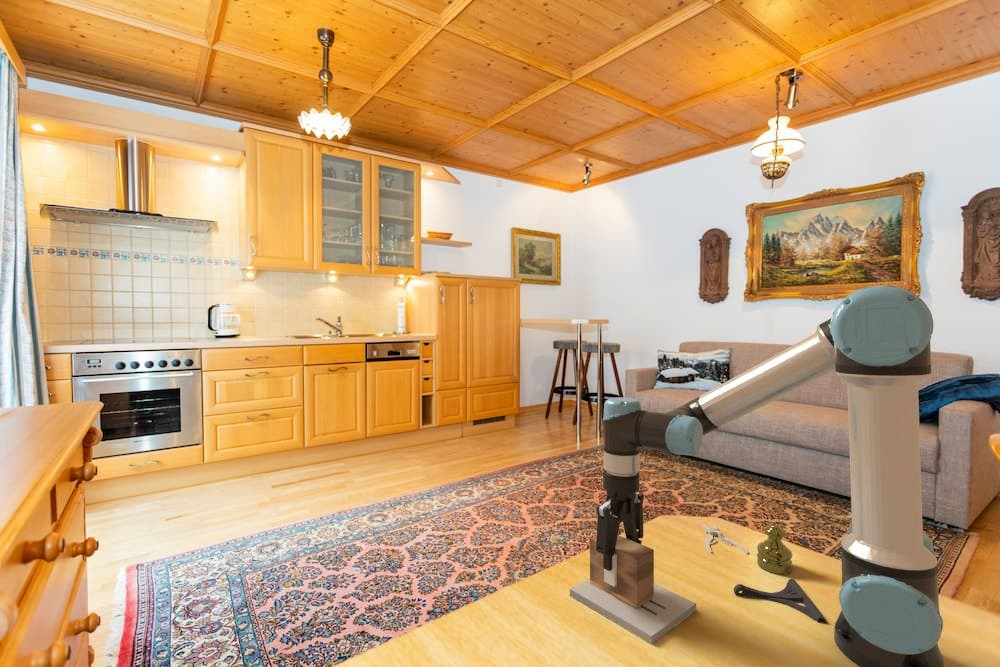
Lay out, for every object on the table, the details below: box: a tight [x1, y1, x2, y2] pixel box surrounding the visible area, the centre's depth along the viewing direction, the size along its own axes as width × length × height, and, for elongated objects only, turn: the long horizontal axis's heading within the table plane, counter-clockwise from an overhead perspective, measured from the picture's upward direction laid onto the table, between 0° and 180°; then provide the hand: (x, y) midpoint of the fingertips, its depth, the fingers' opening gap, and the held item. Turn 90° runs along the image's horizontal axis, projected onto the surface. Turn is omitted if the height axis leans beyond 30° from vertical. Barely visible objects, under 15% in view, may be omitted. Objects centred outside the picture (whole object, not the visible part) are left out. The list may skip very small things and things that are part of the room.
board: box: [569, 577, 697, 645], centre depth 101 cm, size 20×16×2 cm
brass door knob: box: [756, 524, 793, 575], centre depth 116 cm, size 7×7×10 cm
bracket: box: [733, 578, 827, 624], centre depth 103 cm, size 14×15×3 cm
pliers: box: [701, 523, 750, 555], centre depth 130 cm, size 10×2×15 cm
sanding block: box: [589, 534, 655, 608], centre depth 103 cm, size 12×6×10 cm, turn 40°
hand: (620, 577), depth 103 cm, fingers closed on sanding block, 6 cm apart
